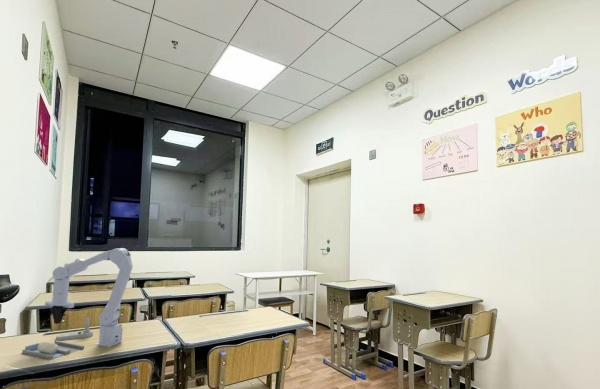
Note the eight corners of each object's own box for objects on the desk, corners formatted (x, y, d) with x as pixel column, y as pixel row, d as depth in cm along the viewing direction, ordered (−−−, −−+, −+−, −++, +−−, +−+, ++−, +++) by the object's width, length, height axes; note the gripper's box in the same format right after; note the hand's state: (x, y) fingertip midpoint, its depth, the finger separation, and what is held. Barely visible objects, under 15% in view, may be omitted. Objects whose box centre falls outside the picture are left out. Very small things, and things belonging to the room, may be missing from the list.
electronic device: (58, 319, 161) (94, 315, 168) (56, 340, 160) (93, 335, 167) (56, 322, 156) (93, 317, 163) (54, 343, 155) (92, 338, 162)
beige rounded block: (55, 354, 139) (59, 344, 141) (46, 353, 136) (51, 343, 138) (44, 352, 142) (49, 342, 143) (35, 351, 138) (40, 341, 140)
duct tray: (83, 349, 145) (84, 342, 146) (50, 360, 132) (51, 353, 133) (56, 344, 152) (57, 337, 152) (21, 354, 139) (22, 347, 139)
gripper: (81, 292, 155) (78, 322, 154) (56, 290, 159) (53, 319, 157) (67, 294, 148) (64, 326, 147) (41, 292, 152) (38, 323, 150)
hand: (57, 323), depth 151 cm, fingers closed
